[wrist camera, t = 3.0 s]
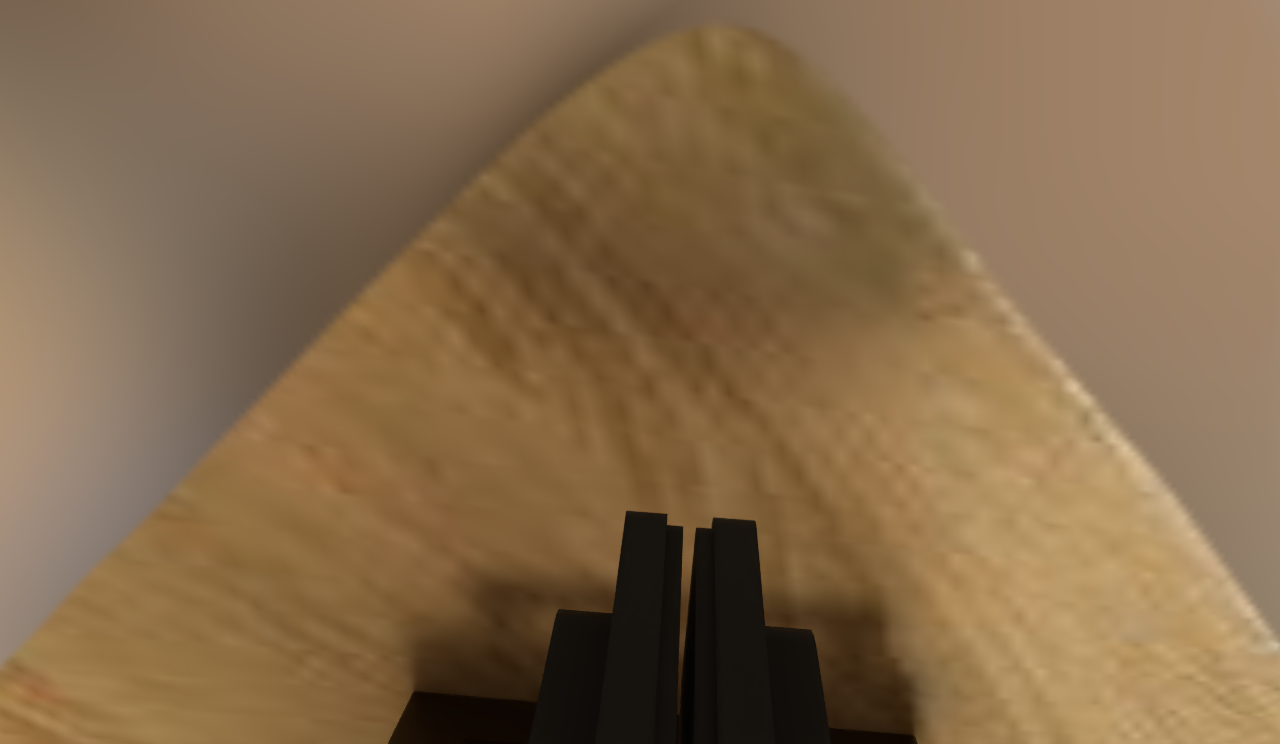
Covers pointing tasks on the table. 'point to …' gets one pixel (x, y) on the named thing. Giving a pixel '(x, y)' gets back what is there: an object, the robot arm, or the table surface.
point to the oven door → (521, 723)
